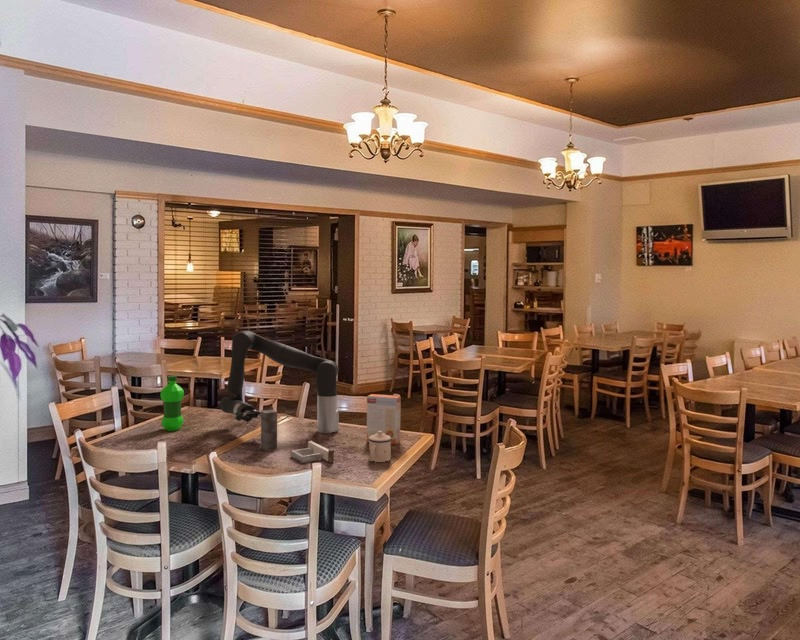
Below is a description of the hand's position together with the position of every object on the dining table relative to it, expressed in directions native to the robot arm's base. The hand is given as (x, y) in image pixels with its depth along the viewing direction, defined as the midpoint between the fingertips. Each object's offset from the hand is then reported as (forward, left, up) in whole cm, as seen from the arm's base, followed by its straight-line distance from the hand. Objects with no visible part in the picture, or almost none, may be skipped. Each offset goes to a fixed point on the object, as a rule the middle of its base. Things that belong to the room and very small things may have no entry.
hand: (258, 418), depth 269 cm
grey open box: (-9, +32, -11) cm, 34 cm away
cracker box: (-47, +27, -11) cm, 56 cm away
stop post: (0, +11, -11) cm, 16 cm away
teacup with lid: (-30, +49, -11) cm, 59 cm away
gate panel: (-14, +32, -10) cm, 36 cm away
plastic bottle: (+25, -43, -11) cm, 51 cm away
